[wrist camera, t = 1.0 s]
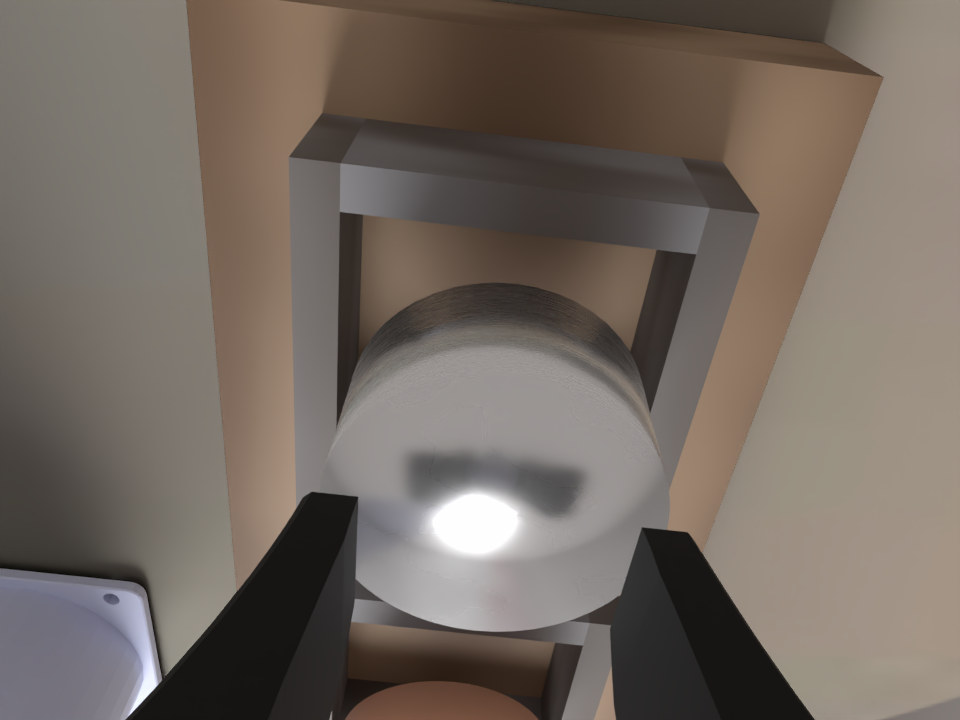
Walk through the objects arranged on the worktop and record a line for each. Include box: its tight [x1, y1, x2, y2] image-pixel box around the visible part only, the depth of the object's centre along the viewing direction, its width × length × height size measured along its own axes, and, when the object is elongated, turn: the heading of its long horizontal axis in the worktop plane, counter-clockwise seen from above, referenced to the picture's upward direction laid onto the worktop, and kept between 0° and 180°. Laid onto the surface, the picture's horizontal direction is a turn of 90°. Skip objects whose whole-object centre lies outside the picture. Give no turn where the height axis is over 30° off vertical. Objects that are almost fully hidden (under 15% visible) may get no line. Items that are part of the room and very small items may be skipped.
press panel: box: [186, 0, 884, 720], centre depth 19 cm, size 12×21×6 cm, turn 174°
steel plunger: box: [319, 282, 670, 632], centre depth 12 cm, size 5×5×2 cm
